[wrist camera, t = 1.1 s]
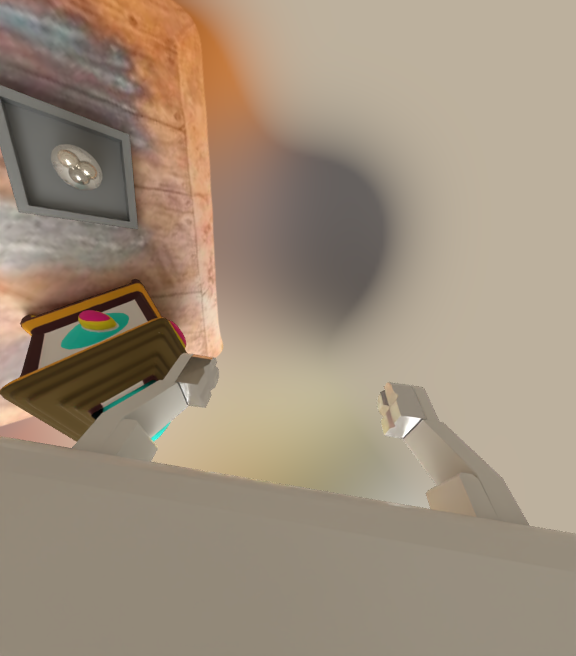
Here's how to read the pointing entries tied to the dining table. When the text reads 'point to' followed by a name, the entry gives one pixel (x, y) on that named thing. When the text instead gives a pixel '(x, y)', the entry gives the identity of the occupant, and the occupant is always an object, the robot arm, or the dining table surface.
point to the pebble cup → (76, 167)
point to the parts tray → (42, 179)
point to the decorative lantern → (93, 358)
